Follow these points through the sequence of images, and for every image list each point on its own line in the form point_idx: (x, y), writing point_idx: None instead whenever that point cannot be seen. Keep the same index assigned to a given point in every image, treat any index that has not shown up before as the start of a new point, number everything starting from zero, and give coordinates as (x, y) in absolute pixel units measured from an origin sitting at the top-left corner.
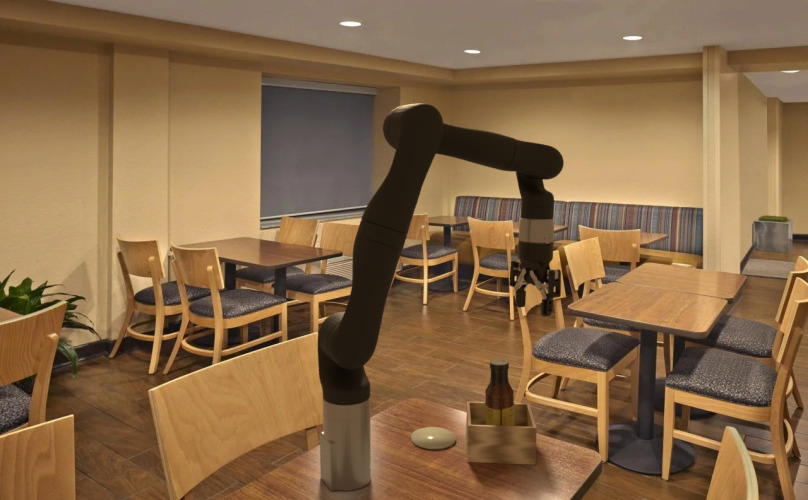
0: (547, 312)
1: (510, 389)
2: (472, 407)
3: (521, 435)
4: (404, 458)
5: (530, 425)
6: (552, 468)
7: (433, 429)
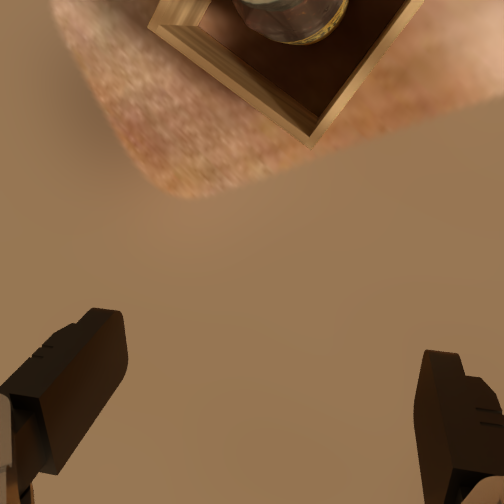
0: (57, 333)
1: (240, 3)
2: None
3: None
4: None
5: (223, 65)
6: (154, 55)
7: None
